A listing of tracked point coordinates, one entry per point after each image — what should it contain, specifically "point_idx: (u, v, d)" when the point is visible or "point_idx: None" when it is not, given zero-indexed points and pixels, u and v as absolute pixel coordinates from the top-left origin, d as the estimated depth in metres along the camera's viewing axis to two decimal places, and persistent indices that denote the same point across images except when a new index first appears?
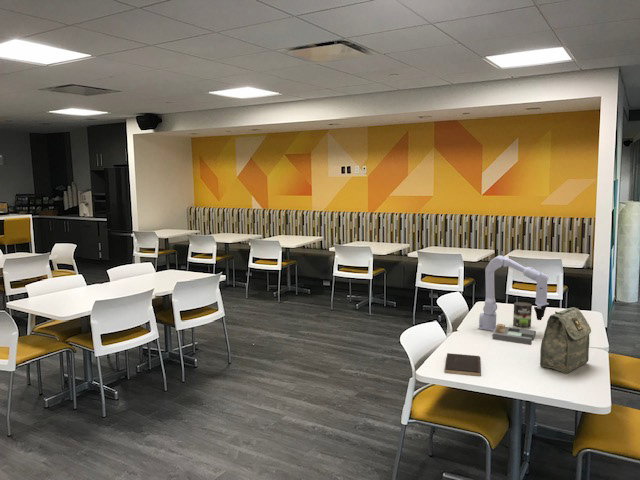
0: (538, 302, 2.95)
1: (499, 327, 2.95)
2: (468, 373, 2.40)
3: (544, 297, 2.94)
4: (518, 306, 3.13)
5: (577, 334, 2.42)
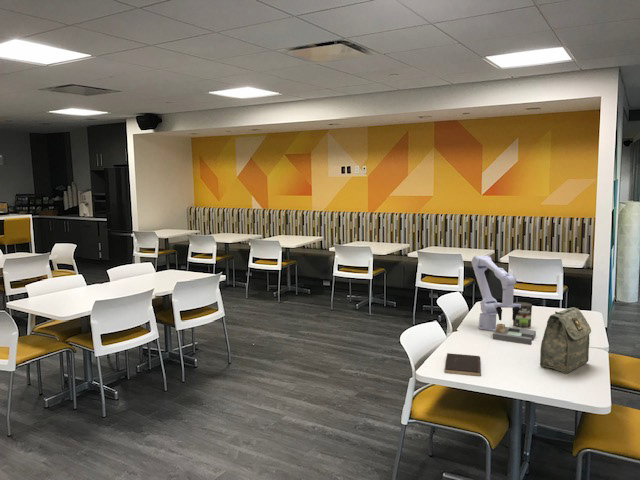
0: (502, 303, 2.99)
1: (499, 327, 2.95)
2: (468, 373, 2.40)
3: (505, 298, 2.96)
4: None
5: (577, 334, 2.42)
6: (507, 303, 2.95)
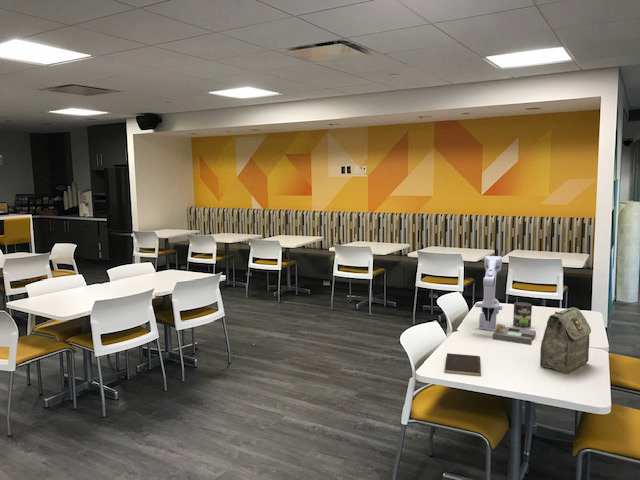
0: None
1: (499, 327, 2.95)
2: (468, 373, 2.40)
3: (484, 299, 2.97)
4: (518, 306, 3.13)
5: (577, 334, 2.42)
6: (485, 303, 2.96)
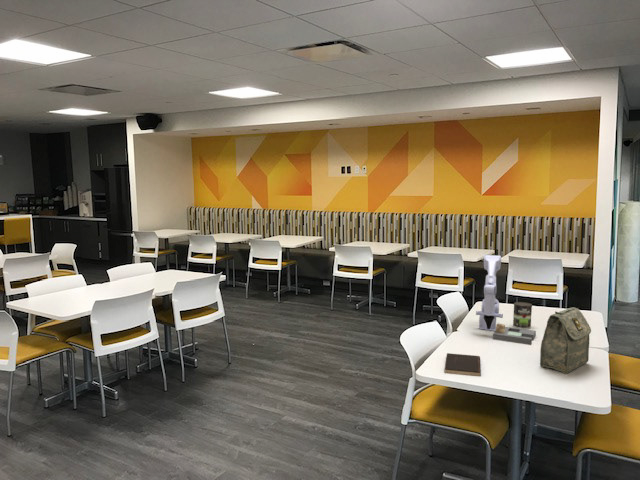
0: None
1: (499, 327, 2.95)
2: (468, 373, 2.40)
3: (485, 307, 2.98)
4: (518, 306, 3.13)
5: (577, 334, 2.42)
6: (486, 311, 2.97)
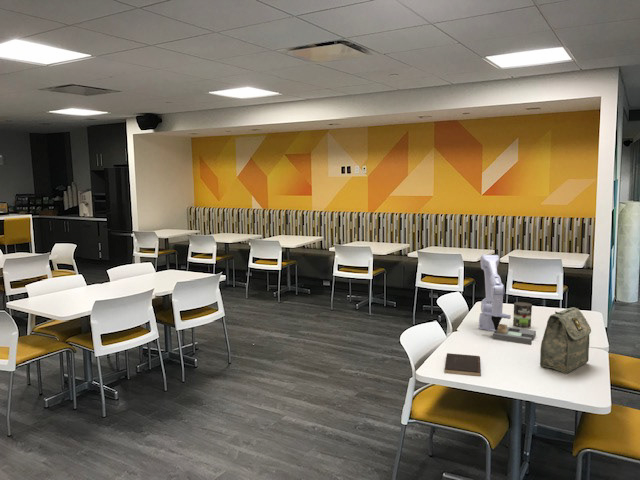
0: None
1: (501, 327, 2.94)
2: (468, 373, 2.40)
3: (492, 308, 2.96)
4: (518, 306, 3.13)
5: (577, 334, 2.42)
6: (494, 312, 2.95)
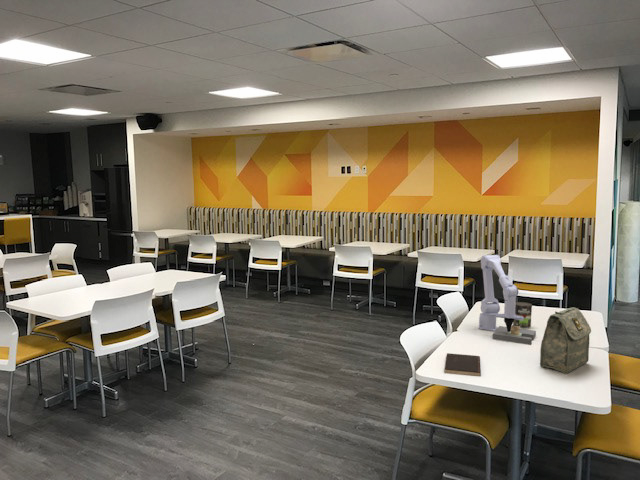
0: None
1: (514, 329, 2.91)
2: (468, 373, 2.40)
3: (505, 309, 2.92)
4: (518, 306, 3.13)
5: (577, 334, 2.42)
6: (506, 314, 2.91)
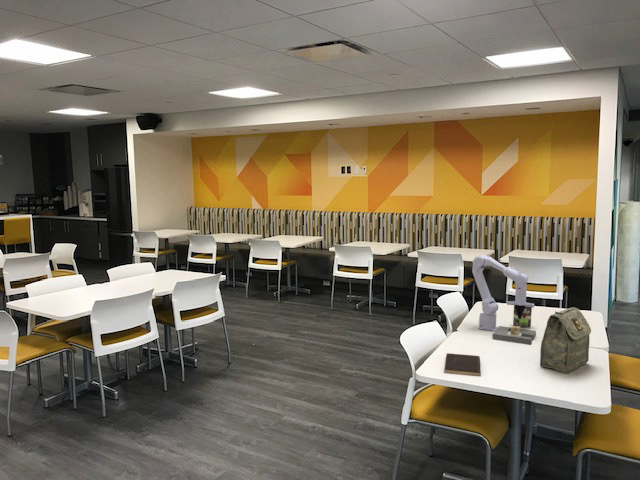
0: None
1: (514, 329, 2.91)
2: (468, 373, 2.40)
3: (516, 296, 2.99)
4: None
5: (577, 334, 2.42)
6: (517, 301, 2.98)
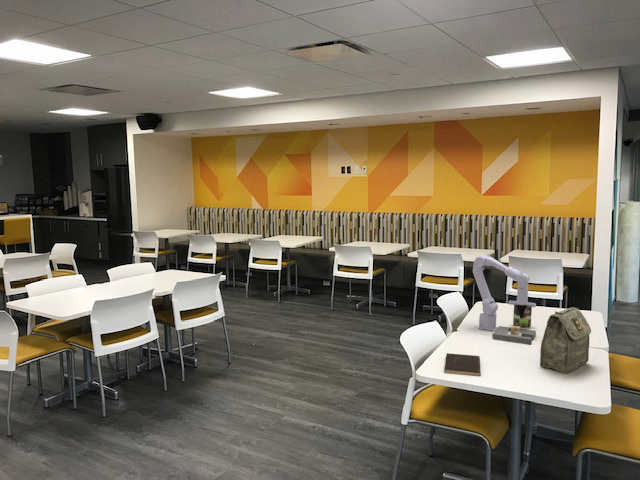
0: None
1: (514, 329, 2.91)
2: (468, 373, 2.40)
3: (518, 296, 3.00)
4: None
5: (577, 334, 2.42)
6: (519, 301, 2.99)
